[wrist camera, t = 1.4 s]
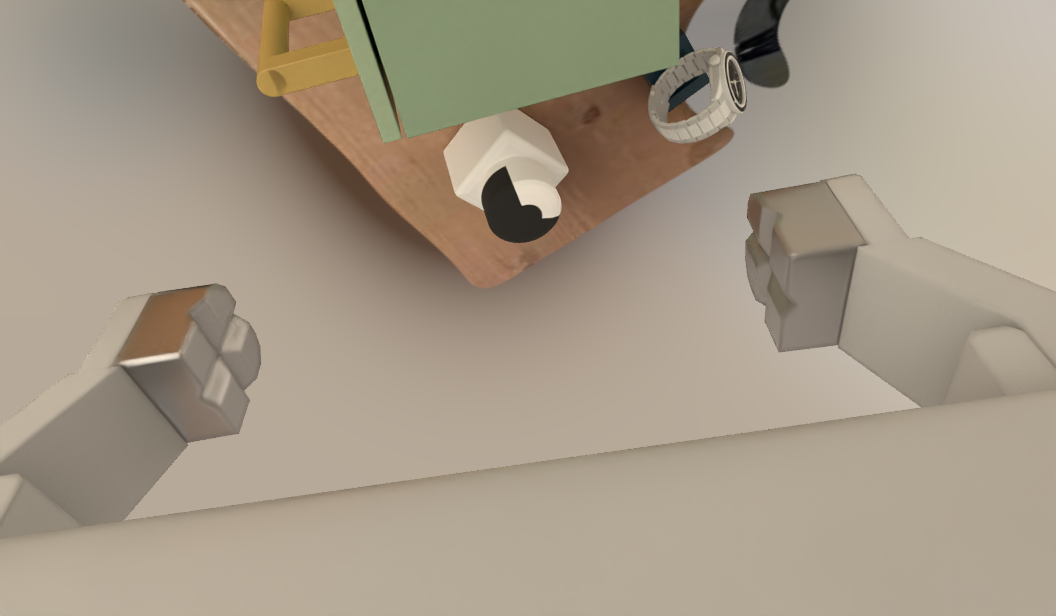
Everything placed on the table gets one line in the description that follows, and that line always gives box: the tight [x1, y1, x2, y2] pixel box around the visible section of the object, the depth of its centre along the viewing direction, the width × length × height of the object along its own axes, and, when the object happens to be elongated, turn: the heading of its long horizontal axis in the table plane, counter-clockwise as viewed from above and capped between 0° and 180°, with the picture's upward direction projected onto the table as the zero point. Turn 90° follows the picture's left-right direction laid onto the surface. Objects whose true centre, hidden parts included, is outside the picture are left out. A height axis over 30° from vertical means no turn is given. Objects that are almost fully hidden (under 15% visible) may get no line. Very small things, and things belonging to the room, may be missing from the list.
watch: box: [643, 28, 747, 143], centre depth 57 cm, size 6×8×11 cm
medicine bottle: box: [443, 109, 569, 243], centre depth 58 cm, size 7×7×12 cm
